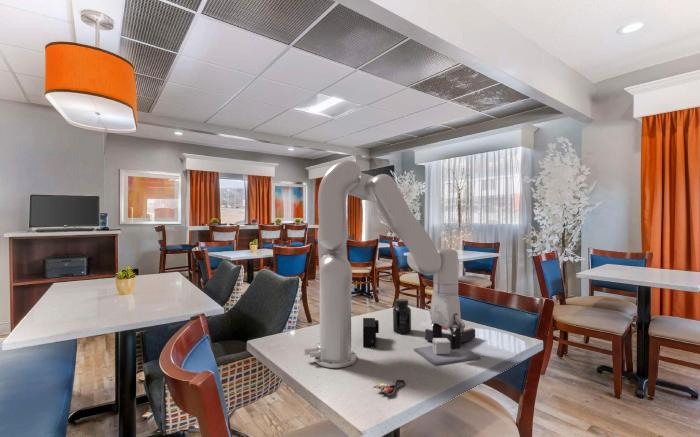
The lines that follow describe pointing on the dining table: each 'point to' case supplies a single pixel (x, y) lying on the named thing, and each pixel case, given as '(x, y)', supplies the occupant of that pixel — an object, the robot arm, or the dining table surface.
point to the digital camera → (370, 332)
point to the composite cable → (389, 388)
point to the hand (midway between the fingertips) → (446, 343)
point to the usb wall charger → (441, 346)
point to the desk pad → (446, 355)
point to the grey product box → (446, 333)
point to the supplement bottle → (402, 317)
